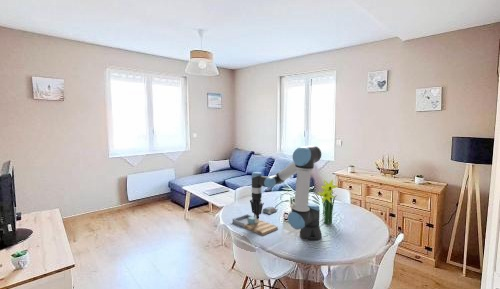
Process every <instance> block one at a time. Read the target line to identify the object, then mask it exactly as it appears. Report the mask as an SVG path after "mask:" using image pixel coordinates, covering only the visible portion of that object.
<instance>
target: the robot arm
mask: <svg viewBox="0 0 500 289" xmlns="http://www.w3.org/2000/svg"><path fill="white" fill-rule="evenodd" d="M320 159H322V150H321V149H320V148H319V147H318V146H316V145H306V146H305V145H304V146H300V147H297V148H296V149H295V150H294V151H293V153H292V162H291V163H290V164H288V165H287V166H285V167H284V168H283V169H282V170H280V171H278V172H277V173H276V174H273V175H268V176H265V175H262V174H263V173H262V172H261V171H253V172H252V173H251V198H252V199H250V200H249V202H250V208H251V212H252V214H254V215H253V216H254V218H255V223H258V222H259V220H260V215H262V213H263V212H262V210H263V206H264V204H265V203H264V202H263V201H262V198H263V196H262V193H263V192H262V187H264V188H268V189H270V188H271V189H273V188H275V186H277V185H280V184H283V183H285V181H286V180H288V179H289V178H291V177H293V176H294V175H296V180H295V182H296V183H295V191H294V195H295V196H294V204H292V206H291V212H289V213H288V216H287V222H288V224H289V225H290V227H292V228H293V229H295V230H299V237H300V238H301V239H302V240H304V241H305V240H306V241H311V242H315V241H320V240H321V239H322V238H323V237H322V236H323V235H322V231H321V227H320V212H321V211H320V209H321V208H320V206H319V205H318V204H315V203H311V202H309V197H310V196H309V194H310V186H311V172H312V170H313V169H314V166H315V163H317V162H319V161H321V160H320Z"/></svg>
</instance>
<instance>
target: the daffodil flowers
mask: <svg viewBox="0 0 500 289" xmlns="http://www.w3.org/2000/svg"><path fill="white" fill-rule="evenodd" d="M323 183H324V184H325V185H322V186H320V187H321V188H322V192H317V193H316V194H317V195H319V196H320V197H321V203H322V206H323V208H322V210H323V211H322V217H323V224H325V225H327V226H329V224H330V225H331V224H333V212H334V203H335V199H336V197H337V196H338V195H337V194H335V195H333V194H334V191H333V189H336V188H338V187H339V185H336V184H335V185H334V179H333V178H332V179H331V180H330V181H329V183H328V182H327V181H325V180H323Z"/></svg>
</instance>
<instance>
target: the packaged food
mask: <svg viewBox="0 0 500 289" xmlns="http://www.w3.org/2000/svg"><path fill="white" fill-rule="evenodd" d="M278 210H279V209H278V208H276V207H274V206H268V207H265V208H262V212H261V213H265V214H268V215H271V214H273V213H275V212H276V213H277V211H278Z"/></svg>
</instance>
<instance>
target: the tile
mask: <svg viewBox="0 0 500 289" xmlns="http://www.w3.org/2000/svg"><path fill="white" fill-rule="evenodd" d="M251 216H252V217H249V218H248V223H249V224H252V225H254V224H257V223H255V218H254V215H251ZM258 223H259V222H258Z"/></svg>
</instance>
